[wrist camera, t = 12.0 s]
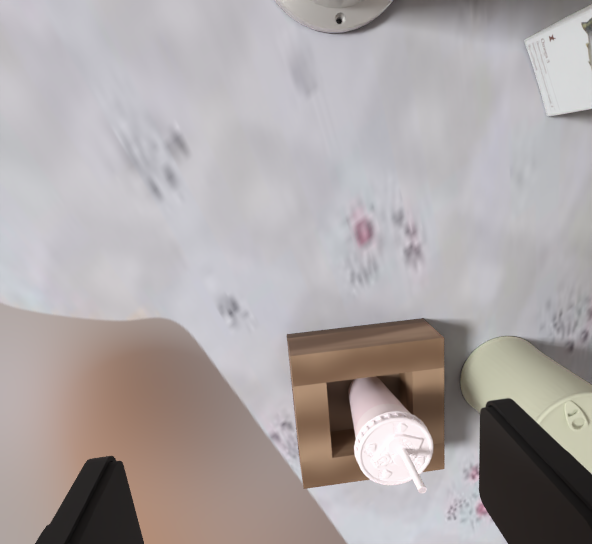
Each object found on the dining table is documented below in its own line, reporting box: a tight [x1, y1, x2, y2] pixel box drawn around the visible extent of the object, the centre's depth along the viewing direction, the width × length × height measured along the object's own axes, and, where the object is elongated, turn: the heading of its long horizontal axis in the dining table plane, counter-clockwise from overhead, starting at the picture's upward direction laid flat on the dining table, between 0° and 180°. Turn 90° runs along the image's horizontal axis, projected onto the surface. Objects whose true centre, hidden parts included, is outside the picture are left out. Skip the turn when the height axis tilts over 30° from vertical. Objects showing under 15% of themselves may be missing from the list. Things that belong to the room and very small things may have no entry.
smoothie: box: [348, 376, 433, 493], centre depth 36 cm, size 6×6×14 cm
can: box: [460, 336, 592, 474], centre depth 39 cm, size 9×9×12 cm
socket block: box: [287, 318, 444, 489], centre depth 41 cm, size 14×14×5 cm
